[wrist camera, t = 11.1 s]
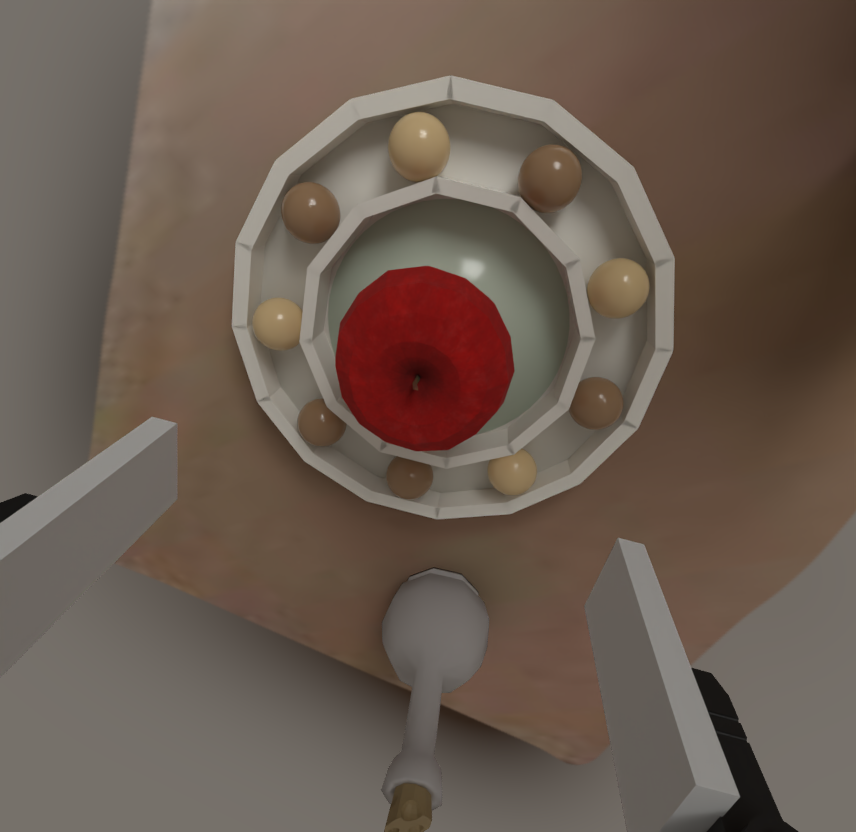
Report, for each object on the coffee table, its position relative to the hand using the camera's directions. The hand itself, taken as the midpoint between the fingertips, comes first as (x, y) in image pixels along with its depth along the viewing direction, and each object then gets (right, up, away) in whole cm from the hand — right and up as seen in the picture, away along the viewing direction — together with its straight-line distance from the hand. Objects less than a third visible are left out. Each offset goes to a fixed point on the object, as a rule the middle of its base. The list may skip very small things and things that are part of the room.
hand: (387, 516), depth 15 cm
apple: (+2, +9, +19) cm, 21 cm away
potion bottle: (+2, -13, +30) cm, 33 cm away
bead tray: (+2, +9, +20) cm, 22 cm away
